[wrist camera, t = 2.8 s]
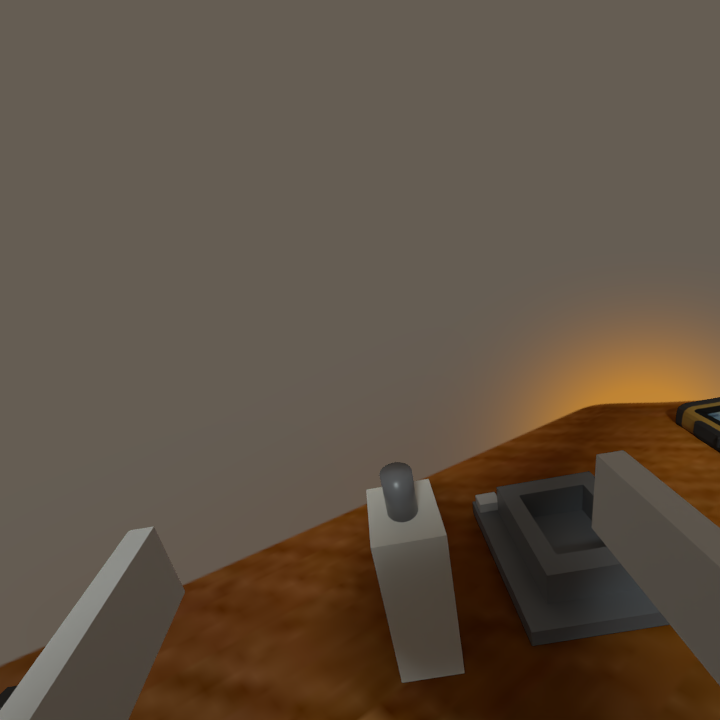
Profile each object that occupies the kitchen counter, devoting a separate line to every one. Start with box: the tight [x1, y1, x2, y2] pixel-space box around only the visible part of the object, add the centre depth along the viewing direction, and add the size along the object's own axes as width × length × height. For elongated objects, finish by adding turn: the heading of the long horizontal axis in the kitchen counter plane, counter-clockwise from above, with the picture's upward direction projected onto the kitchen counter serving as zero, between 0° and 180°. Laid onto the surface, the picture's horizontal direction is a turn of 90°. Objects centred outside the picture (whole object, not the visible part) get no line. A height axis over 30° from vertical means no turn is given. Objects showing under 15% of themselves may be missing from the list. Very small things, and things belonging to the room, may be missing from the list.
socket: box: [473, 471, 669, 646], centre depth 31 cm, size 13×13×4 cm
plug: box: [366, 462, 465, 683], centre depth 25 cm, size 4×5×16 cm
